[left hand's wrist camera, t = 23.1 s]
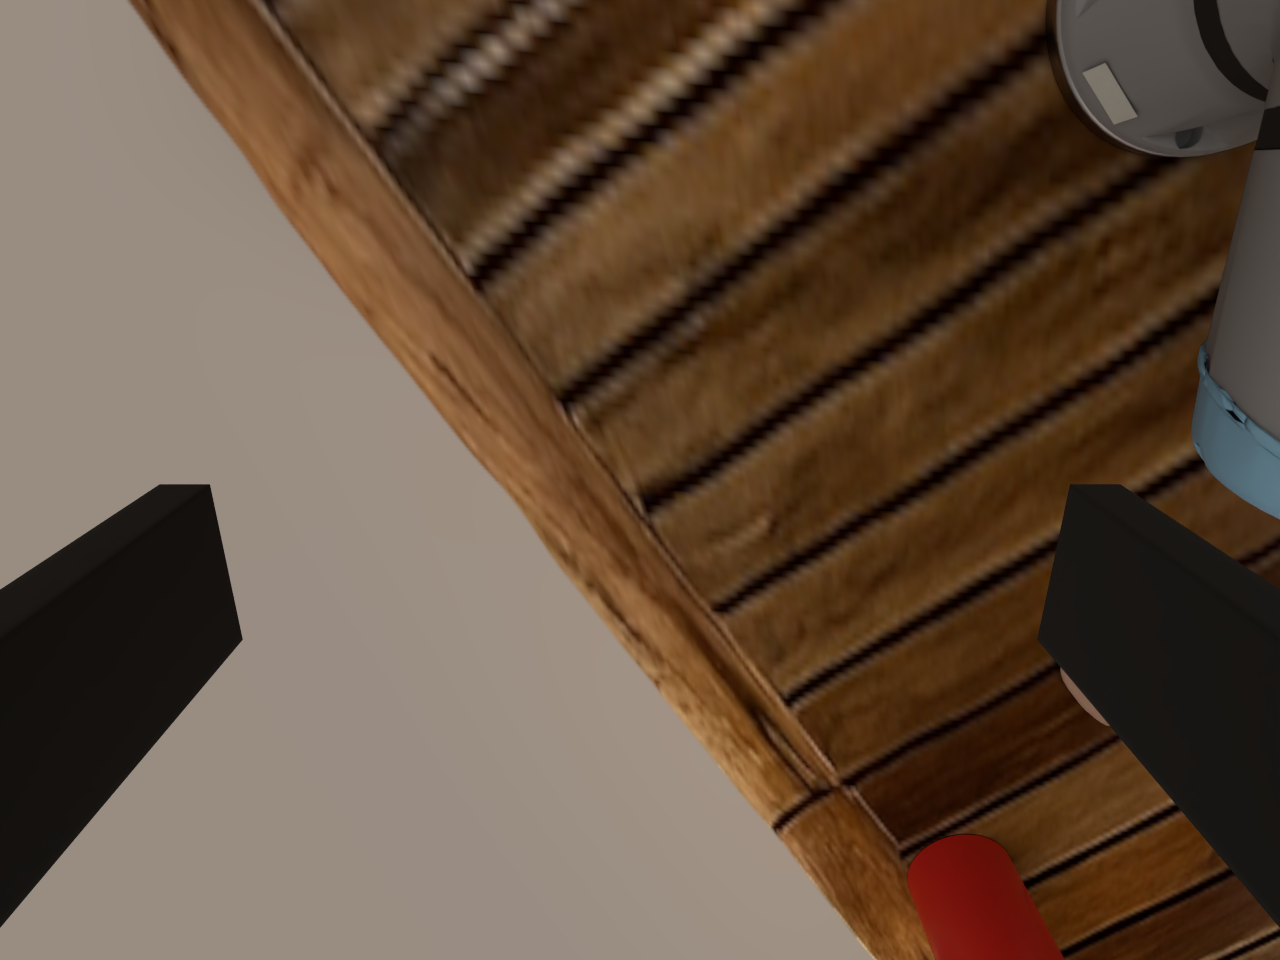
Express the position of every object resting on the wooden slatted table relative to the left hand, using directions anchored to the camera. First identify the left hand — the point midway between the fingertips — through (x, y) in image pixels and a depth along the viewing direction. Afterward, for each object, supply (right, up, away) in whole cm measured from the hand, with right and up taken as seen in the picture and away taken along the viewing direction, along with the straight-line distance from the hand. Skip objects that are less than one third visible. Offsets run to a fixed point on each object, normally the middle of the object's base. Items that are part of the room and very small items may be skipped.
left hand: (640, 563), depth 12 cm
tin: (+24, -29, +48) cm, 61 cm away
